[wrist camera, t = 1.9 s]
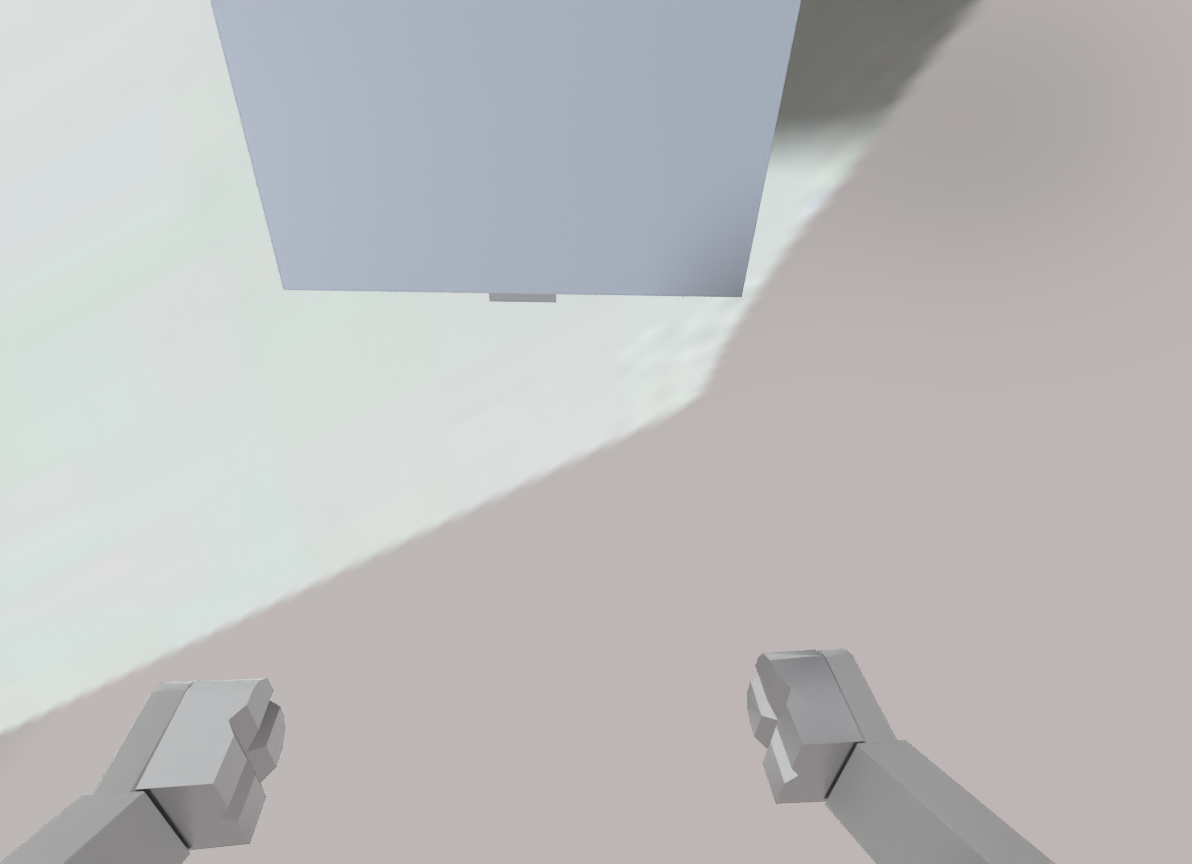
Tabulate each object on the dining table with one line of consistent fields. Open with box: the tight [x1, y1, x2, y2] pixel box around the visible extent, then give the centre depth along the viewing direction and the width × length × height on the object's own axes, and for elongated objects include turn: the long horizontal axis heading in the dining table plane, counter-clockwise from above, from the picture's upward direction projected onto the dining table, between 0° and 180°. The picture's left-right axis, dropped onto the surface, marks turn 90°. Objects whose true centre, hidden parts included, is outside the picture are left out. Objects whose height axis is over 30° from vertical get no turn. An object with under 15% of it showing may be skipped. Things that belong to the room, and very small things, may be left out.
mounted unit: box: [210, 0, 801, 302], centre depth 21 cm, size 10×13×18 cm
